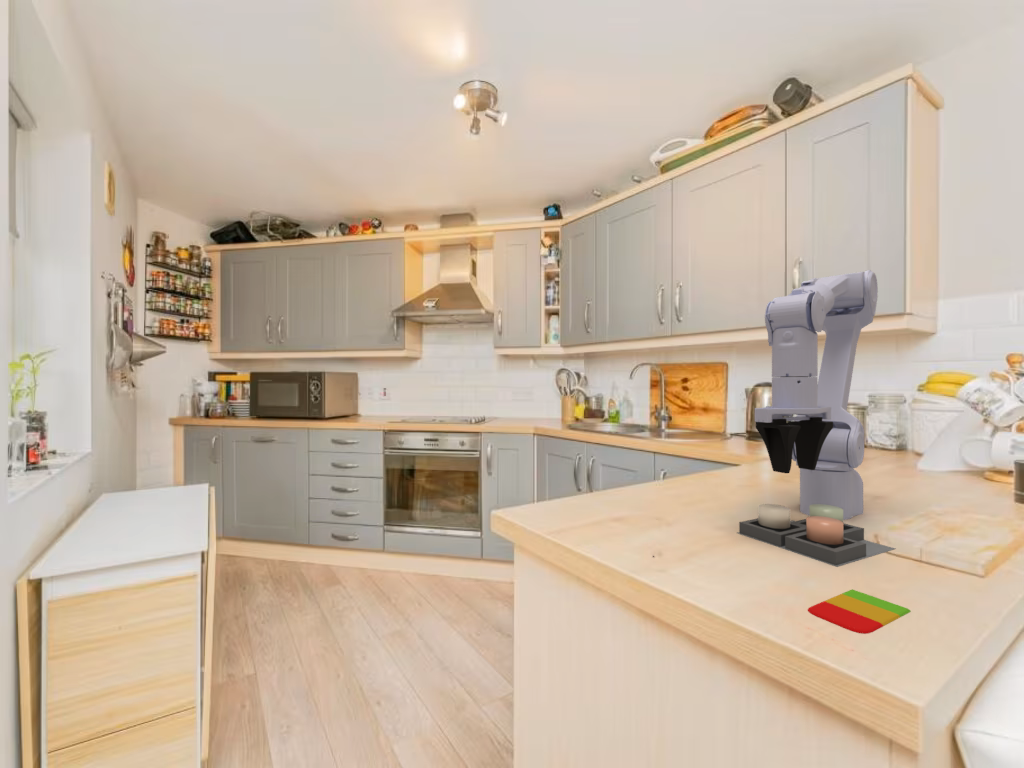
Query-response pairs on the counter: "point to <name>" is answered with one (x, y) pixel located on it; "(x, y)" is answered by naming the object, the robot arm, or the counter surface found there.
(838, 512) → the sage button
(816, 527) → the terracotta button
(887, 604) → the striped ice pop
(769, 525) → the cream button
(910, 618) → the counter surface
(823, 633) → the counter surface
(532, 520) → the counter surface
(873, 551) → the grey compartment tray
